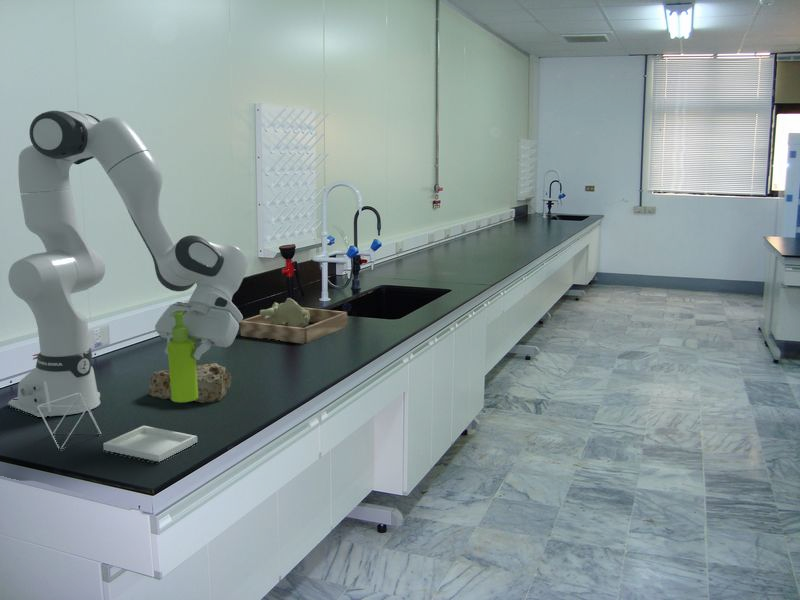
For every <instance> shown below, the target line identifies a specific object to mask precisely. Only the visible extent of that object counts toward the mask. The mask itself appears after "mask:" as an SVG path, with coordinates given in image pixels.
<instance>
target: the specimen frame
mask: <svg viewBox="0 0 800 600" xmlns="http://www.w3.org/2000/svg"><path fill="white" fill-rule="evenodd" d="M301 307H302V306H301ZM302 308H304V309H305V310H309V315H310V319H309V321H308V323H313V324H310V325H308V326H306V327H305V326H304V327H303V328H299V327H290V326H288V325H273V324H272V323H271V322H267V321H266V320H265V319H264V318H265V317H266V316H263V315H260V314H258V315H254V316H252V317H248V318H245V319H242V321H241V322H240V323H239V328H240V337H241V336H242V337H247V338H248V337H249V338H256V339H263V338H268V339H267V340H270V339H275V340H274V341H278V340H280V342H281V341H282V342H289V343H294V344H302V345H303V344H308V343H310V342H313V341H315V340H317V339H320V338H322V337H325V336H327V335H329V334H332V333H334V332H337V331H339V330H341V329H344V328H346V327H348V312H347V311H340V310H332V309H331V310H330V309H322V308H321V309H320V308H314V307H313V308H311V307H302Z"/></svg>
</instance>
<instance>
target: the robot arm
mask: <svg viewBox="0 0 800 600" xmlns="http://www.w3.org/2000/svg"><path fill="white" fill-rule="evenodd" d="M29 138H30V139H29V140H30V142H31V145H28V146H27V147H25V148H23V149H22V150H21V151H20V153H19V156H18V168H17V169H18V170H17V171H18V172H17V173H18V186H19V193H20V199H21V200H20V201H21V206H22V211H23V218H24V224H25V227H26V228H27V230H28V231H30V232H31V233H33V234H35V235H36V236H37V237H39V239H40V240H41V243H42V244H43V245H44V249H45V250H46V252H45V251H44V252H37V253H33V254H30V255H27V256H25V257H23V258H21V259H19V260H17V261H14V263H13V264H12V265H11V266H10V268H9V271H8V280H7V281H8V284H9V287H10V289H11V291H12V292H13V294H14V295H16V297H17V298H19V299H20V300H22V301H23V302H25V303H26V304H27V305H28V307H29V308H30V310H31V312H32V315H33V316H34V318H35V321H36V326H37V334H38V343H39V353H35V354H33V355H32V357H33V358H32V360H36V365H35V367H34V368H33V369H32V370H30V372H29V373H27V374H26V375H25V376H24V377H22V378H21V380H20V381H19V382H18V384H17V397H14V398H12V399H11V400H9V401H8V402H7V405H8V404H10V405H12V406H14V407H16V408H18V409H21V410H23V411H25V412H28V413H31V414H33V415H35V416H37V417H42V416H41V414H40V412H39V410H38V408H37V406H38V405H41V404H45V403H48V402H51V401H54V400H57V399H60V398H63V397H66V396H69V395H73V394H76V393H80V394H81V395H82V397H83V398H84V400H85V401H86V403H87V404H88V406H89V408H90V410H91V411H92V410H93V409H96V408H97V407H99V405H101V399H100V398H101V393H100V392H99V391H98V386H97V381H96V376H95V371H94V367H93V366H92V364H93V353H92V348H90V339H89V338H90V337H89V326H88V318H86V315H84V314H83V313H81V312H80V311H77V310H76V309H75V307H74V303H73V302H72V298H71V294H75V293H79V292H83V291H87V290H89V289H90V288H93V287H94V286H96V285H97V284H99V283H101V281H102V280H103V278H104V276H105V274H106V265H105V261H104V258H103V257H102V256H101V254H100V253H99V252H98V251H96V250H95V249H94V248H92V247H91V246H90V244H89V243H88V241H87V240H86V238H85V237H84V235H83V233H82V231H81V228H80V225H79V223H78V219H77V216H76V210H75V205H74V200H73V194H72V193H73V192H72V186H71V182H70V169H71V166H72V165H73V164H74V165H80V164H82V163H85V162H87V161H89V160H92V159H95V160H96V161H98V163H99V164H100V165H101V167H102V169H104V172H105V173H106V175H107V177H108V178H109V179H110V181H111V182H112V184H113V186H114V188H115V190H117V192H118V194H119V196H120V197H121V199H122V202H123V203H124V205H125V207H126V209H127V212H128V214H129V217H130V218H131V220H132V222H133V224H134V226H135V228H136V230H137V232H138V233H139V235H140V237H141V238H142V240H143V242H144V244H145V246H146V248H147V249H148V252H149V254H150V255H151V257H152V261H153V265H154V270H155V274H156V278H157V279H158V281H159V283H160V284H161V285H162V286H163V287H164V288H165V289H167V290H170V291H173V292H185V291H187V290H190V289H191V288H193V286H194V285H195V284H196V287H195V288H194V291H193V293H192V294H191V296H190V298H189V299H188V301H187V302H182V301H176V302H175V303H172V304H170V305H169V306H168V307H167V309H166V310H164V312H163V313H162V314H161V316H160V318H159V319H158V320H157V322H156V323H155V326H154V328H155V332H156V333H157V334H158V335H159V336H160V337H161V338H166V343H167V344H168V343H169V342H171V341H173V335H172V328H173V327H174V326H176V323H175V317H173V314H174V313H175V312H176V311H187V313H185V314H184V315H183V325H185V326H187V327H188V339H189V340H193V341H194V343H196V344H200V345H199V346H197V348H195V349H193V351H192V353H191V355H190V356H191V357H192V358H193V359H195V360H196V361H199V360H200V359H201V357H202V355H203V354H205V353H206V352H208V351H209V350H210V349H211V347H212V346H216V347H221V348H228V347H230V346H231V345H232V344H233V343H234V341H235V339H236V336H237V335H238V331H239V330H240V322H241V321H242V320H244V317H243V314H242V313H241V311H240V310H239V309H238V307H237V306H236V304H234V303H233V302H232V300H233V296H234V294H235V293H236V292H238V290H239V288H240V287H241V285H242V282H243V280H244V278H245V275H246V272H247V268H248V262H249V261H248V259H247V255H246V254H245V252H244V251H243V250H242V249H240V248H239V247H238V246H236V245H235V244H231V243H216V242H211V241H209V240H206V239H204V238H203V237H201V236H198V235H194V234H193V235H187V236H184V237H182V238H180V239H179V240H178V241H177V242H175V241H174V239H173V237H172V234H171V233H170V231H169V229H168V228H167V225H166V223H165V222H164V220H163V218H162V216H161V212H160V195H161V190H162V188H163V187H162V186H163V174H162V171H161V168H160V166H159V164H158V162H157V160H156V159H155V157H154V155H153V153H152V152H151V150H149V148H148V146H147V145H146V143H145V142H144V141H143V139H142V138H141V137H140V136H139V134H138V133H137V132H136V131H135V130H134V128H132V126H131V125H130V124H129V123H128V122H127V121H125V119H122V118H120V117H114V116H113V117H107V118H104V119H102V120H100V119H99V118H98V117H96V116H94V115H91V114H88V113H83V112H79V111H74V110H65V111H59V110H49V111H45V112H42V113H39V114H38V115H37V116H36V117H34V119H33V120H32V122H31V124H30V126H29ZM167 344H166V348H165V349H164V353H165V354H166V355H167V356H168V346H167ZM77 395H78V394H76V395H73V396H70V397H67V398H64V399H60V400H57V401H54V402H51V403H48V404H45V405H42V406H70V405H71V404H72V402H73V401H74V399H75V398H76V396H77ZM13 399H18V400H13ZM72 406H85V404H84V403H83V401H82V399H81V397H80V395H78V397H77V398H76V400H75V401H74V403H73V404H72ZM86 406H87V405H86ZM39 409H40V411H41V413H42V415H43V416H44V418H47V416H49V417H55V416H58V417H59V416H64V415H65V413H66V412H67V410H68V409H69V407H39ZM85 409H86V407H71V408H70V409H69V411H68V412H67V414H66V415H65V416H69V415H74V414H75V415H76V414H81V413H83V412H84V411H85ZM85 412H88V410H86V411H85ZM37 417H36V418H37Z"/></svg>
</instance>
